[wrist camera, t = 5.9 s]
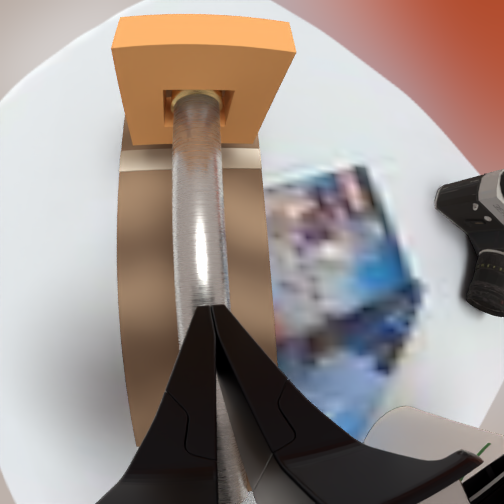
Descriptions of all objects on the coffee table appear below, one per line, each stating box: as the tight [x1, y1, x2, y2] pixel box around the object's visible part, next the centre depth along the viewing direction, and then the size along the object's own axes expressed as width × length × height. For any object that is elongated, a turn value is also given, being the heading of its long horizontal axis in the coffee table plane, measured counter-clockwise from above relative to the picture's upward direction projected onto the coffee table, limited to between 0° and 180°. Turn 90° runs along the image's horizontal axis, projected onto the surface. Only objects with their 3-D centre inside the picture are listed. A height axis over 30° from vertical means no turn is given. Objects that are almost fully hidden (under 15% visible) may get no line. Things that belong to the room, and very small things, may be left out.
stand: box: [117, 90, 278, 492], centre depth 17 cm, size 25×10×8 cm, turn 4°
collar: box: [111, 14, 296, 145], centre depth 14 cm, size 2×7×8 cm, turn 94°
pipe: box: [171, 90, 248, 504], centre depth 13 cm, size 24×2×2 cm, turn 4°
